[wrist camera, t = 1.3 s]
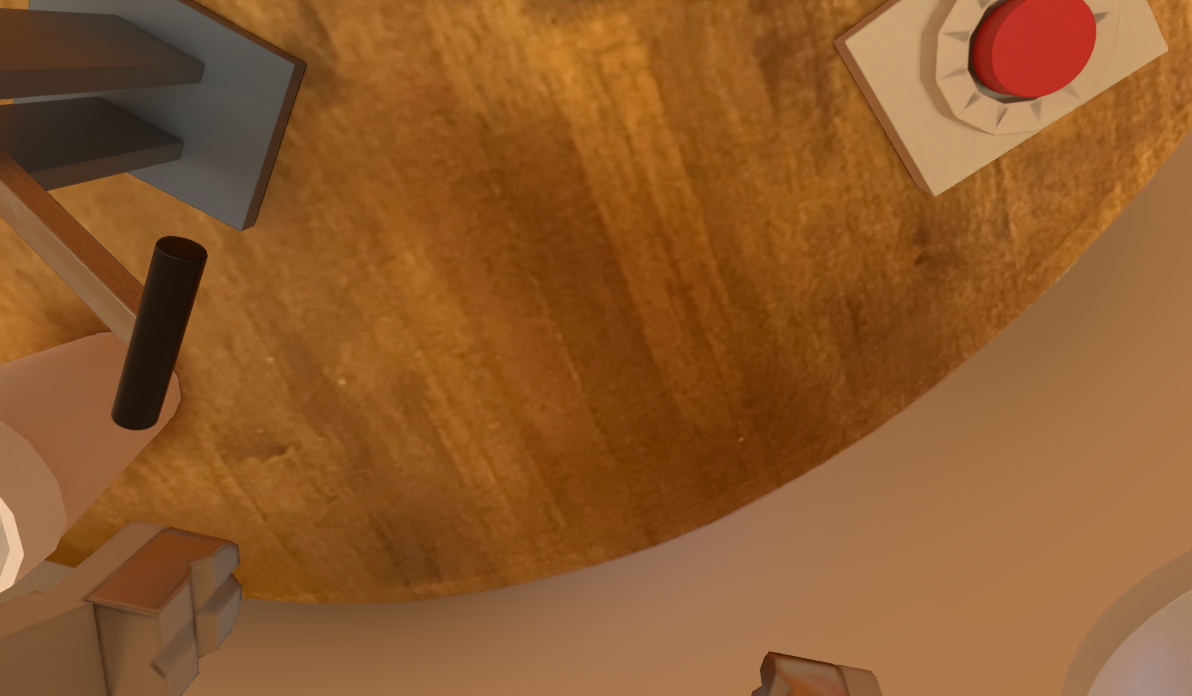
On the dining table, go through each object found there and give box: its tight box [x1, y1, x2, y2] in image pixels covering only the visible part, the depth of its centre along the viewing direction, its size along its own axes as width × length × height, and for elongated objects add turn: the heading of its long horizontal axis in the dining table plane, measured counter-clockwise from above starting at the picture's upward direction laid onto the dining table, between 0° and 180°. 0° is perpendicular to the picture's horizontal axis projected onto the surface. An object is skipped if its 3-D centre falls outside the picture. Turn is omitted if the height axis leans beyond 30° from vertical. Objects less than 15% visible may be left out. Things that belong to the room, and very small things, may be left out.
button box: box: [834, 0, 1168, 197], centre depth 28 cm, size 8×10×4 cm
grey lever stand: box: [0, 0, 306, 231], centre depth 28 cm, size 12×9×14 cm
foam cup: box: [0, 332, 181, 592], centre depth 35 cm, size 10×9×13 cm
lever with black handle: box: [0, 146, 208, 431], centre depth 21 cm, size 15×6×2 cm, turn 62°
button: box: [973, 0, 1096, 98], centre depth 26 cm, size 4×4×2 cm
